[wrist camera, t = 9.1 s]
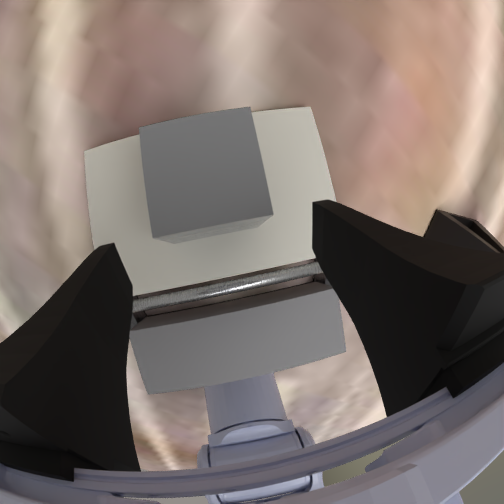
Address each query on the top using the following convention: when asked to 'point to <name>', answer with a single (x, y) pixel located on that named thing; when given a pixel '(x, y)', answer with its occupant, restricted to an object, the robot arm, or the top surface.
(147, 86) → the top surface
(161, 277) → the trapdoor
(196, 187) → the stone block
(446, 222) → the phone stand
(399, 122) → the top surface
